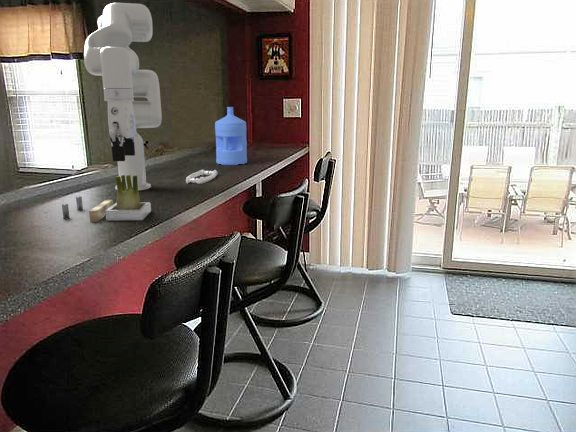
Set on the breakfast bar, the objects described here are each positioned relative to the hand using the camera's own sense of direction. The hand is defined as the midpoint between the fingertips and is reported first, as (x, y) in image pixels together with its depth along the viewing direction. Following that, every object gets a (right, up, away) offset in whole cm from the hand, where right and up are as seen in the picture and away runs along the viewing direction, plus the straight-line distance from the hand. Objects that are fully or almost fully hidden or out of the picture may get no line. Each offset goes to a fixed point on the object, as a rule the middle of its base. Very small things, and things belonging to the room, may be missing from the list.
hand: (124, 158), depth 131 cm
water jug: (+17, +10, +106) cm, 108 cm away
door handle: (+10, -1, +63) cm, 64 cm away
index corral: (0, -16, +4) cm, 17 cm away
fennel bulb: (0, -16, +4) cm, 17 cm away
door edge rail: (-8, -16, +4) cm, 18 cm away
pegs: (-17, -16, +6) cm, 24 cm away
